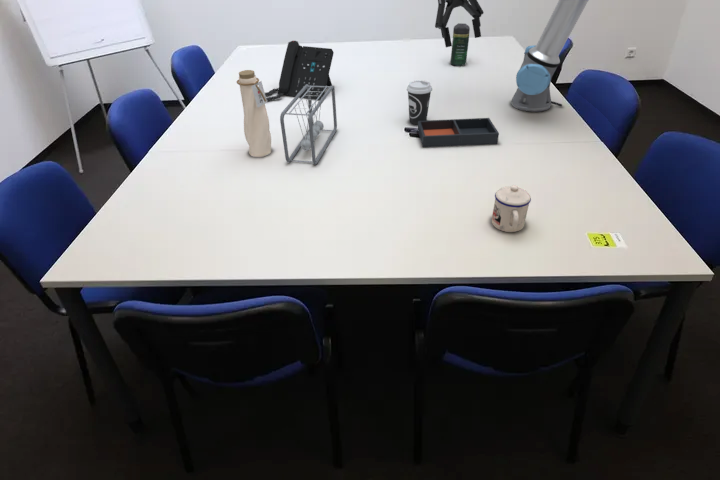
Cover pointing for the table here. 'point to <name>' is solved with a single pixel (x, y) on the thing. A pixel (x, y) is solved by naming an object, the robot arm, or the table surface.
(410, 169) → the table surface
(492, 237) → the table surface
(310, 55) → the office phone
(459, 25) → the green shampoo bottle
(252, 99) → the water bottle
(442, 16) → the robot arm
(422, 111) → the coffee cup
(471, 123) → the divided storage tray
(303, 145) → the newton's cradle
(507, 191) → the teacup with lid
